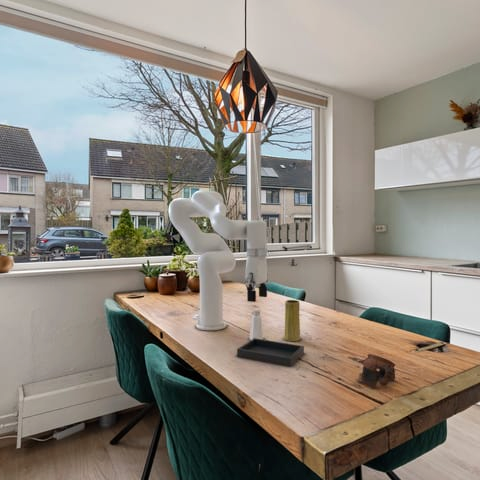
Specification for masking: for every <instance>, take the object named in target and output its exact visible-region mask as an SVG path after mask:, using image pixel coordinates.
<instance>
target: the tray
mask: <svg viewBox="0 0 480 480" xmlns="http://www.w3.org/2000/svg"><path fill="white" fill-rule="evenodd" d="M304 354H305V346H304V345H299V344H292V343H287V342H280V341H274V340H268V339H263V340H262V339H256V338H254V339H252V340H250V339H249V341H247V342H245V343H244V344H242V345H241V346H239V347H238V348H237V349H236V357H237V358H242V359H243V358H244V359H248V360H254V361H258V362H259V361H260V362H263V363H269V364H275V365H280V366H284V367H285V366H286V367H292V366H293V365H294V364H295V363H296V362H298V361H299V359H300V358H301V357H302V356H304Z"/></svg>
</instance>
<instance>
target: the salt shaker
mask: <svg viewBox="0 0 480 480" xmlns="http://www.w3.org/2000/svg"><path fill="white" fill-rule="evenodd" d="M254 338H256V339H262V340H264V328H263V318H262V316H261V309H259V308H255V309H253V310H252V316H251V320H250V331H249V341H250V340H252V339H254Z"/></svg>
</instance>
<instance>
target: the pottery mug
mask: <svg viewBox="0 0 480 480" xmlns="http://www.w3.org/2000/svg"><path fill="white" fill-rule="evenodd" d="M361 363H362V365H363V366H362V372H359V373H358V382H360V383H363V384H365V385H366V386H369V387H372V388H374V389H377V385H378V383H379V385H380V386H381V387H385V386H387V385H388V384H389V383H390V381H395V380H396V369H395V367H396V364H395V362H393V361H391V360H390V359H387V358H385V357H383V356H380V355H376V354H371V353H368V354H367V357H366V358H364V359H363V361H362V362H361ZM377 369H378V370H377Z"/></svg>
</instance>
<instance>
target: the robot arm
mask: <svg viewBox="0 0 480 480" xmlns="http://www.w3.org/2000/svg"><path fill="white" fill-rule="evenodd" d="M224 201H225V200H224V197H223V196H222V194H221V193H220V192H218V191H216V190H215V191H214V190H204V189H200V190H197V191H195V192H193V193H192V195H191V198H187V197H178V198H175V199H172V201H170V203H169V205H168V216H169V220H170V222H171V224H172V225H173V227H174V228H175V230H177V232H178V233H179V234H180V236H181V237H182V239H183V240H184V242H185V244H186V245H187V247H188V248H189V250H190V252H191V253H192V254H194V255H195V256H198V258H197V260H196V261H197V262H196V266H197V271H198V277H199V278H198V279H199V314H196V313H195V314H194V315H193V317H192V320H193V321H197V323H196V324H195V325H196V328H197V329H198V330H200V331H220V330H223V329H225V328H226V327H227V322H226V321H224V320H223V319H224V313H223V312H224V311H223V309H224V308H223V303H224V300H223V299H224V298H223V297H224V295H223V294H224V293H223V292H224V288H223V287H224V286H223V281H222V279H221V276H220V274H225V273H230V272H232V271H234V269H235V267H236V265H237V261H236V257H235V255H234V253H233V252H232V250H231V248H230V247H229V246H228V245H227V243H226V242H225V240H228V241H244V240H246V262H245V272H244V273H245V274H244V275H245V277H244V279H245V280H244V282H245V287H246V292H247V293H246V294H247V295H246V296H247V299H246V300H247V302H251V303H255V302H257V290H256V287H257V286H258V285H259V286H258V297H260V298H267V297H268V282H269V281H268V277H269V273H268V262H267V258H268V233H267V232H268V228H267V225H268V224H267V221H265V220H262V219H256V220H254V219H253V220H245V219H244V220H243V219H230V218H228V217H227V213H228V207H227V205H226V203H224ZM203 217H207V218H208V219H209V220H210V224H211V227H212V229H213V230H214V231H215V232H216V233H215V232H203V230H202V229H201V228H200V227H199V225H198V224H197V223H196V222H195V221H194V220H192V219H191V218H203Z"/></svg>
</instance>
